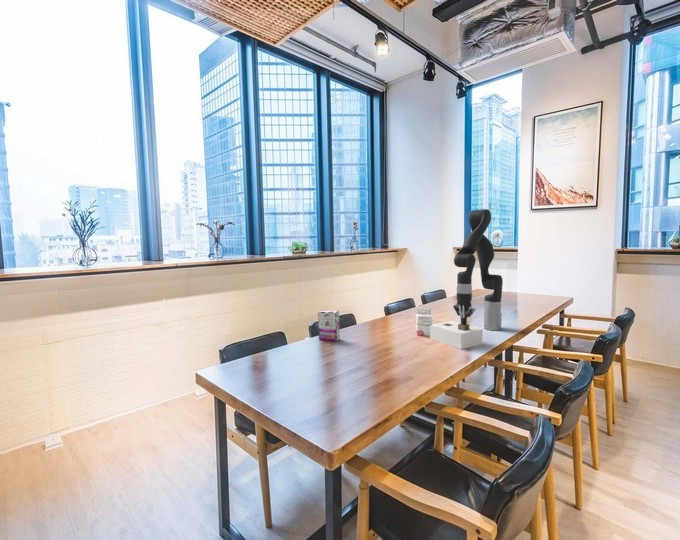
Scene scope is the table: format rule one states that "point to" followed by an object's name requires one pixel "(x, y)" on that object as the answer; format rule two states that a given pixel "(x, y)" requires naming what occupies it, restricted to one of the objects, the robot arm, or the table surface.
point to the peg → (463, 327)
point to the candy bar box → (329, 325)
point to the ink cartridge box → (423, 322)
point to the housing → (456, 335)
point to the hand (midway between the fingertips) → (463, 324)
